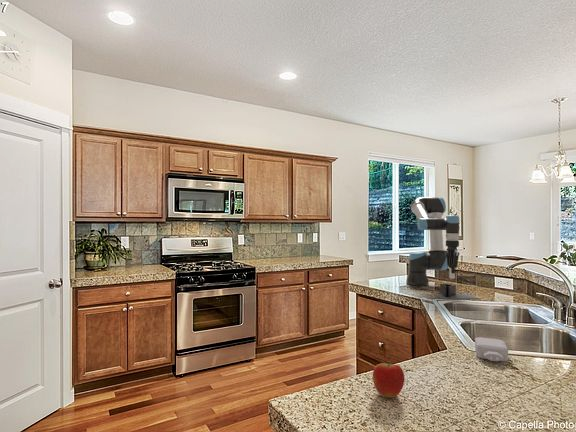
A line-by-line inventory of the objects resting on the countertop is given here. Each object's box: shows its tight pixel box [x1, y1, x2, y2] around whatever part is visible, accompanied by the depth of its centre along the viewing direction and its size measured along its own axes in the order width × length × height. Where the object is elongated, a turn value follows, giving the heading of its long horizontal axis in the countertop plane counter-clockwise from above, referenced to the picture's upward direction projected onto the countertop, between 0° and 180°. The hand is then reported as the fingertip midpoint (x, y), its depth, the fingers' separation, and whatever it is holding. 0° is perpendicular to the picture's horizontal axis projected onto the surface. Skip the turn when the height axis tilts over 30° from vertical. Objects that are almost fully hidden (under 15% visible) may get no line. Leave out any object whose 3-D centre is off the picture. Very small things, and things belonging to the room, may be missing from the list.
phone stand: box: [439, 283, 457, 298], centre depth 225 cm, size 9×6×12 cm
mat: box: [433, 293, 480, 300], centre depth 223 cm, size 12×22×1 cm, turn 93°
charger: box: [474, 337, 509, 363], centre depth 125 cm, size 5×9×15 cm
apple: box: [372, 356, 405, 399], centre depth 98 cm, size 8×8×10 cm
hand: (452, 278), depth 228 cm, fingers closed
